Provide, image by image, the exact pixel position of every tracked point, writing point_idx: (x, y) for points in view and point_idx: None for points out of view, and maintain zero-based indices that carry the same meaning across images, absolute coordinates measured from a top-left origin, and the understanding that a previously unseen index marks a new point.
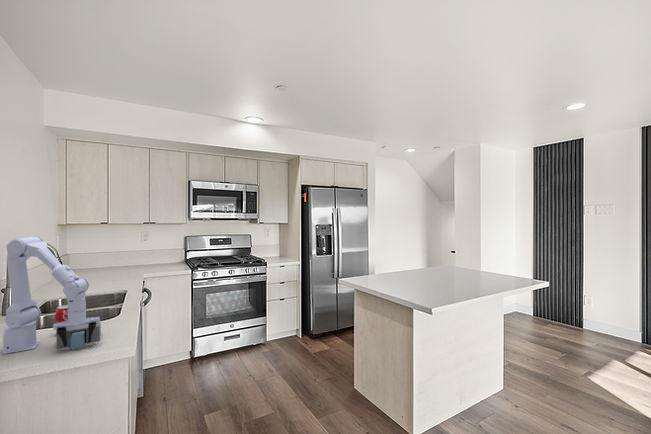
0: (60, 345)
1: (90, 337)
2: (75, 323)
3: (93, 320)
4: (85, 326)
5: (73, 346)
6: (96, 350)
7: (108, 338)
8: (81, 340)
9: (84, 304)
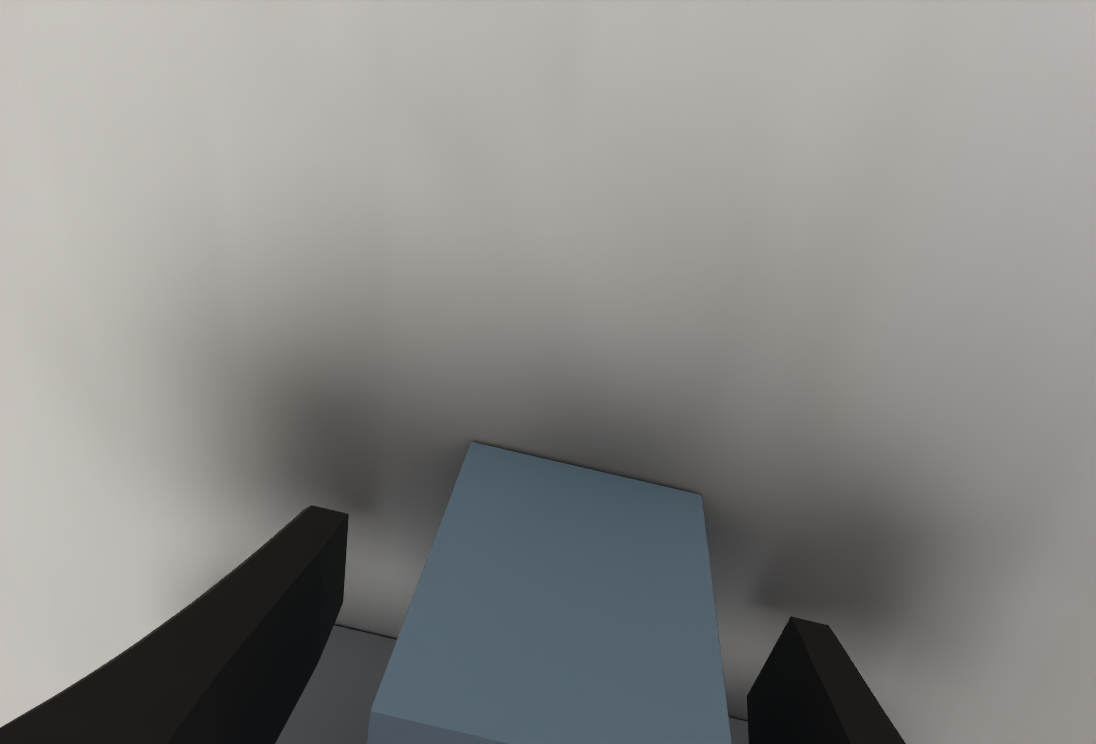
0: None
1: (229, 581)
2: None
3: None
4: None
5: (656, 538)
6: (201, 54)
7: (69, 583)
8: (466, 591)
9: None
